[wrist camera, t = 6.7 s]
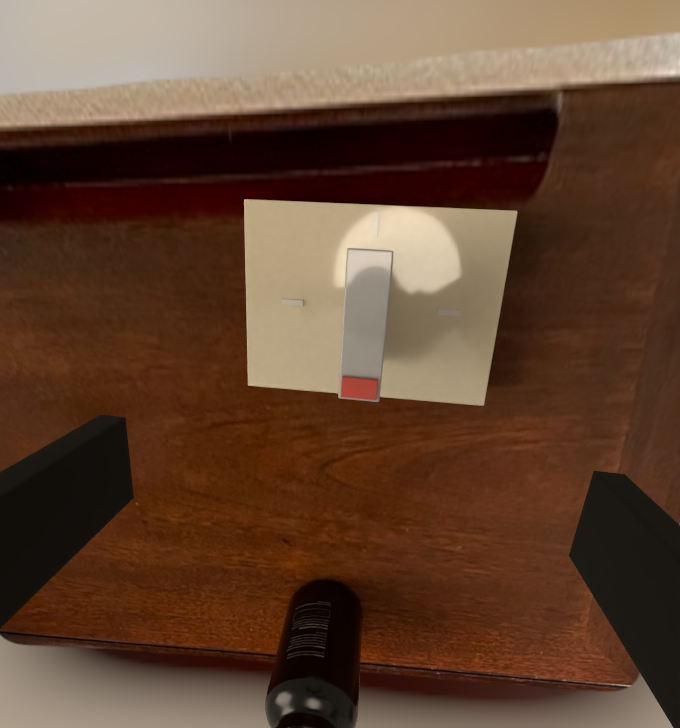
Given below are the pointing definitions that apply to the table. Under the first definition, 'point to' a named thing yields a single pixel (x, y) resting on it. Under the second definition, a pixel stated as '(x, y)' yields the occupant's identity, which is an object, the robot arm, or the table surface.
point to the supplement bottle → (317, 661)
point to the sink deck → (406, 300)
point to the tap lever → (364, 323)
